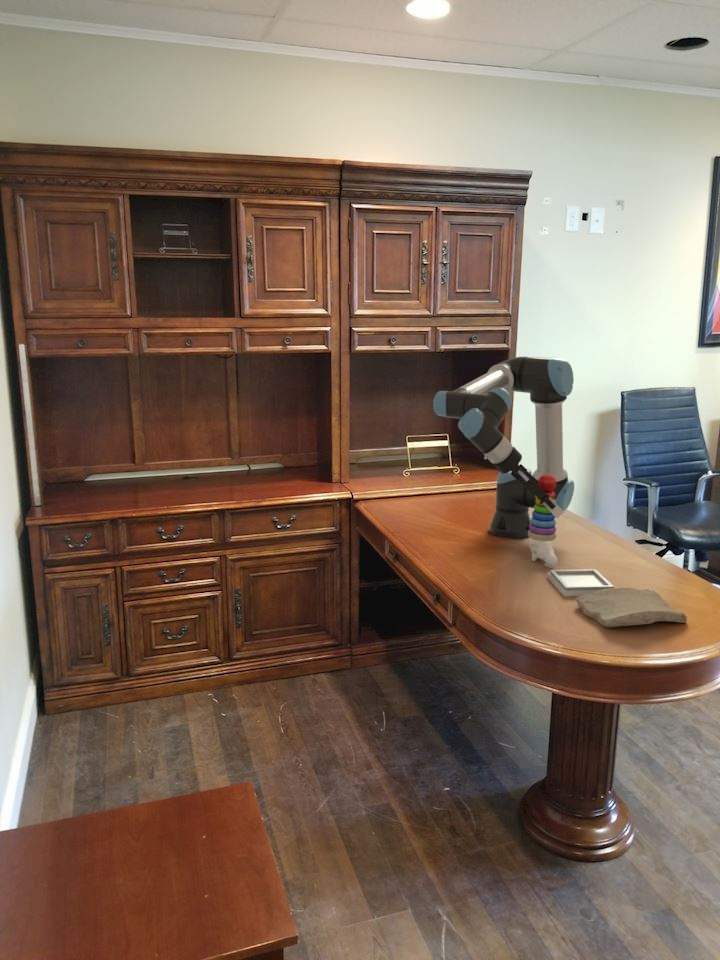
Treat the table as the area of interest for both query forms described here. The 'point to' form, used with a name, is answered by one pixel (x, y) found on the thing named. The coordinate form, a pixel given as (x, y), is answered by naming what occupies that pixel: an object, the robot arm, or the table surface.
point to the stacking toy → (543, 513)
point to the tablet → (627, 607)
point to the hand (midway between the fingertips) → (556, 511)
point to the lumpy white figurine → (543, 552)
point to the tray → (578, 581)
